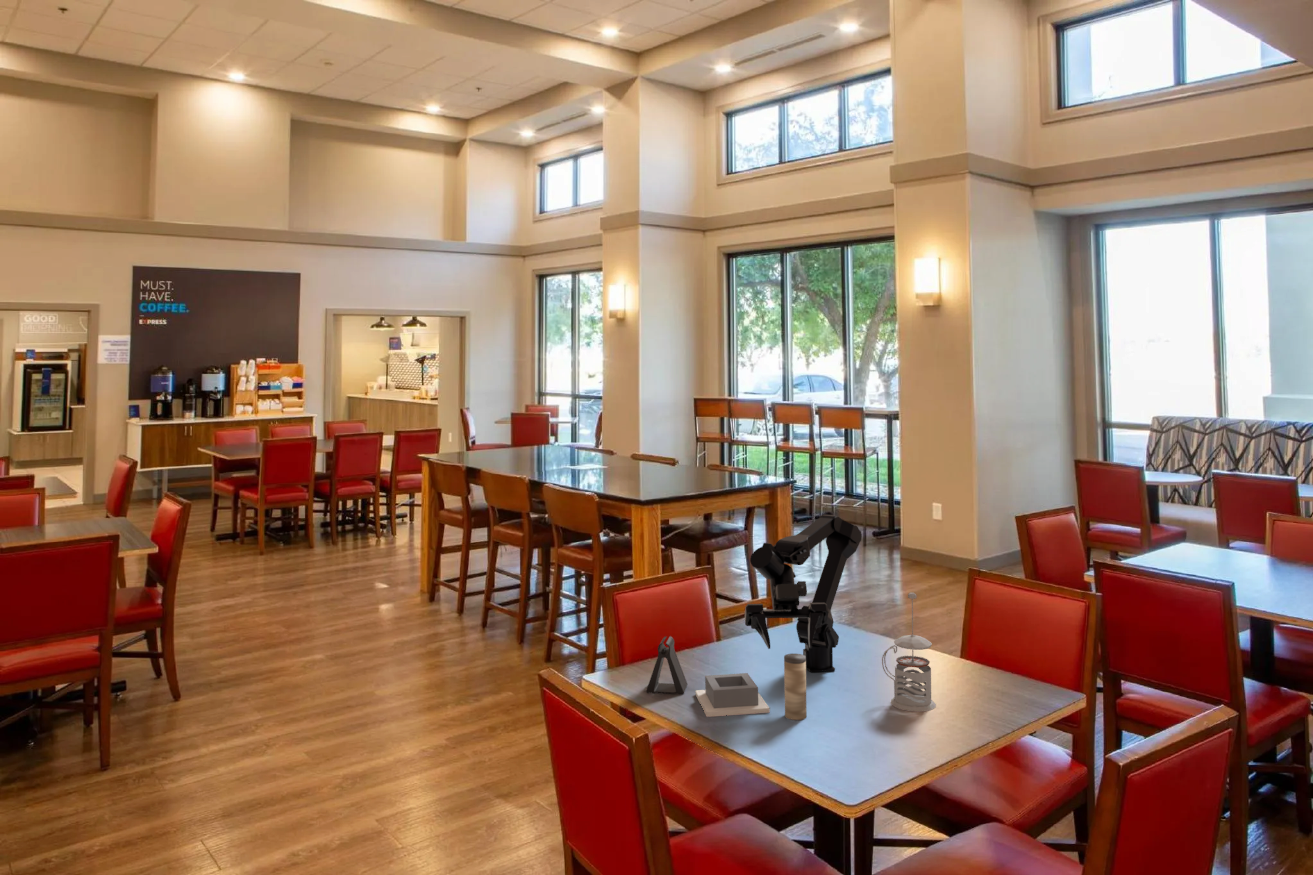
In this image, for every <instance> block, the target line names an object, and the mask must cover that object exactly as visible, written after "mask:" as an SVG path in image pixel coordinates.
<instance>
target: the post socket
mask: <svg viewBox="0 0 1313 875" xmlns="http://www.w3.org/2000/svg"><path fill="white" fill-rule="evenodd" d="M704 682H705V689H699V690H698V689H697V690H695V692H694V693H695V696H696V699H697V700H698V703H699V704H701V705H700V706H702V707H701V708H703V709H702V710H704V711H703V712H704V715H705V716H706V718H713V717H727V716H738V715H754V714H768V713H770V711H771V709H770V708H771V707H770V706H769V705H768V704H767V703H766V701H765V700H764V698H763V697H762V695H761V694H760V693H759V687H758V685H757V684H756V683H755V680H753V679H752V677H751V676H750V674H749V673H748V672H745V673H744V672H742V673H727V674H715V675H712V674H711V675H705V676H704ZM726 715H727V716H726Z"/></svg>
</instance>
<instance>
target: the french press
mask: <svg viewBox="0 0 1313 875" xmlns="http://www.w3.org/2000/svg"><path fill="white" fill-rule="evenodd" d="M917 597H918V595H917V594H916V593H915V592H909V593H908V594H907V598H908V599H911V633H912V634H909V635H905V634H904V635H902V636H900V637H898V638H896V639H894V640H893V642H894V645H891V646H889V647H888V648H887V649H886V650H885V651H884V652H883V654H882V657H881V664H882V669H883V672H884V674H885V675H886V676H887V677H888V678H889V679H892V680H893V688H894V690H893V691H894V694H893V695H894V696H893V698H891V700H890V704H891V705H892V707H895V708H896V709H899V710H903V711H909V712H928V711H932V710H934V709H935V708H936V707H937V703H936V702H934V701H933V699H932V667H931V666H929V664H930V662H931V661H930V660H929V659H928V658H925V657H922V656H916V655H914V651H915V650H919V651H923V650H927V649H930V648H931V647H932V644H933V643H932V642H931V641H930V640H928V639H927V638H926V637H922V636H920V635H915V634H914V599H917ZM898 648H901V649H906V650H912V652H911V654H912V655H903V656H898V657H897V658H896V660H895V661H896V663H897V664H896V665H895V666H894V674H893V673H891V671H890V670H889V669H888V667H887V664H886V656H887V654H888V651H889V650H891V649H893V653H894V654H896V653H897V652H898ZM907 668H910V669H907ZM911 668H917V669H919V670H920V671H919V670H916V669H911ZM905 669H907V670H905ZM904 670H905V671H904ZM886 671H887V672H888V673H887V672H886ZM921 671H922V672H921ZM889 674H890V675H889ZM893 677H894V678H893ZM907 679H908V680H907ZM909 679H910V680H909ZM908 685H909V686H908Z"/></svg>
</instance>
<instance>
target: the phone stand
mask: <svg viewBox="0 0 1313 875" xmlns="http://www.w3.org/2000/svg"><path fill="white" fill-rule="evenodd" d="M666 639H667V636H666V635H665V636H664V637H663V638H662V640H661V641H660V643H659V645H658V646H657V653H658V654H657V658H656V662H655V664H654V667H653V670H652V674H651V676H650V679H649V682H648V685H647V688H646V693H647V694H661V695H662V694H666V695H667V694H668V695H684V694H685V692H686V689H687V687H688V682H687V679H686V676H685V674H684V671H683V669H682V666H681V664H680V661H679V660H680V659H679V658H678V655H677V652H676V651H675V639H674V638H673V637H672V636H671V635H670V636H669V637H668V639H667V640H666ZM665 641H666V642H665ZM664 642H665V643H664ZM665 645H666V646H665ZM665 659H666V661H667V664H668V668H669V671H670V675H671V679H672V681H673V682H672V683H665V682H664V683H662V682H659V680H660V677H661V672H662V668H663V665H664V660H665Z"/></svg>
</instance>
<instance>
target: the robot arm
mask: <svg viewBox="0 0 1313 875" xmlns="http://www.w3.org/2000/svg"><path fill="white" fill-rule="evenodd" d="M862 538H863V536H862V531H861V530H860V529H859V527H858V526H857V525H856V524H855V525H854V524H852V523H851V522H849V521H846V520H844V519H843V518H841V517H840V516H837V515H834V514H821V515H819V516H818V518H817V519H816V520H815V521H814V522H812V523H810V525H809V526H807V527H805V528H804V529H803V530H801V531H800V532H799V533H798V534H795V535H794V534H793V535H789V536H785V537H782V538H780V539H778V540H777V541H776V543H775V544H774V545H773V544H772V543H771V542H763V544H762V546H761V547H758V548H757V549H755V550H754V551H753V553H751V555H750V558H749V560H750V564H751V566H752V567H753V568H754V569H755V570H756V571H757V572H758V573H759V574H761V576H762V577H763V578H765V579H767V580H769V586H770V595H771V603H772V608H771V609H769V608H768V609H767V608H766V609H764V605H763V603H747V605H746V606H744V608H745V609H744V624H745V626H747V627H750V628H751V629H753V630H755V631H756V632H757V633H758V634H759V635H760V637H761V639H762V640H763V642H764V644H765V646H766V647H767V649H768V650H771V640H770V634H769V628H768V626H767V619H797V620H796V621H797V622H796V626H795V628H796V632H797V633H796V634H797V637H798V640H799V643H800V644H804V648H803V649H802V653H803V654H802V655H804V656H806V670H808V671H809V672H810V673H817V672H818V673H819V672H833V671H836V667H834V665H833V664H834V661H833V654H834V653H833V648H835V649H836V648H837V646H838V644H839V641H840V640H839V639H840V637H839V634H838V633H837V632H836V630H835V629H834V628H833V627H834V619H833V615H832V607H833V604H834V601H835V598H836V595H837V592H838V588H839V585H840V582H841V579H842V576H843V572H844V569H845V567H846V563H847V560H848V559H849V558H851V556H853V554H855V553H856V552H857V549H858V548H859V545H860V543H861V541H862ZM824 540H825V544H826V547H827V551H828V552H827V556H826V559H825V562H824V566H823V568H822V572H821V575H820V578H819V580H818V584H817V587H816V590H815V593H814V596H813V599H812V602H809V605H803V606H802V607H801V608H799V607H798V606H800V597H807V593H808V588H807V583H806V582H807V581H805V580H803V581H802V580H801V581H797V582H796V583H795V579H794V578H796V577H797V576H796V573H795V572H794V569H793V568H792V566H790V565H795V566H802V565H804V564H805V563H806V562H807V561H808V559H809V558H810V556H811V551H812V549H813V548H815V547H816V546H817V545H818V544H820V543H821V542H823V541H824Z"/></svg>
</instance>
